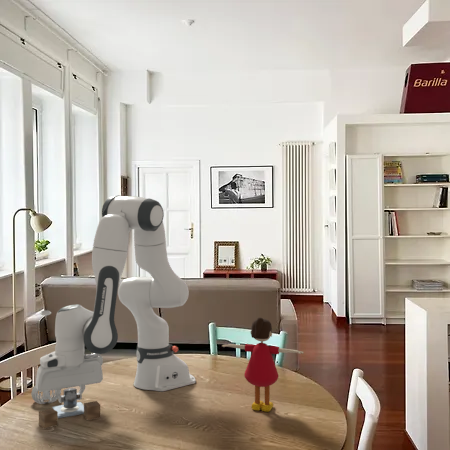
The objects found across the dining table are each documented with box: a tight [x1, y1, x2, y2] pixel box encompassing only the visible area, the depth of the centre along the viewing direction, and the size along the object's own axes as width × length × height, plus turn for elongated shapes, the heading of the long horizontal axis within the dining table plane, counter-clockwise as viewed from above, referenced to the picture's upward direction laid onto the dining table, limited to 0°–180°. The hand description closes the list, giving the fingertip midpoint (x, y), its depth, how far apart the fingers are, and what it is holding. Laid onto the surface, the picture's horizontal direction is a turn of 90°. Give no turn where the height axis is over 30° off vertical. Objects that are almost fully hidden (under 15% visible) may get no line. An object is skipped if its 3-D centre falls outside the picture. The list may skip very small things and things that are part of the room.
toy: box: [221, 317, 304, 413], centre depth 168 cm, size 27×11×30 cm, turn 71°
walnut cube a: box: [83, 400, 101, 421], centre depth 163 cm, size 4×4×4 cm
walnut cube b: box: [38, 407, 59, 430], centre depth 157 cm, size 4×4×4 cm
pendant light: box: [30, 310, 62, 405], centre depth 176 cm, size 9×9×30 cm
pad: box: [51, 401, 84, 419], centre depth 168 cm, size 9×9×1 cm
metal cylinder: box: [63, 387, 78, 408], centre depth 168 cm, size 4×4×5 cm
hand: (70, 400), depth 168 cm, fingers closed on metal cylinder, 4 cm apart
